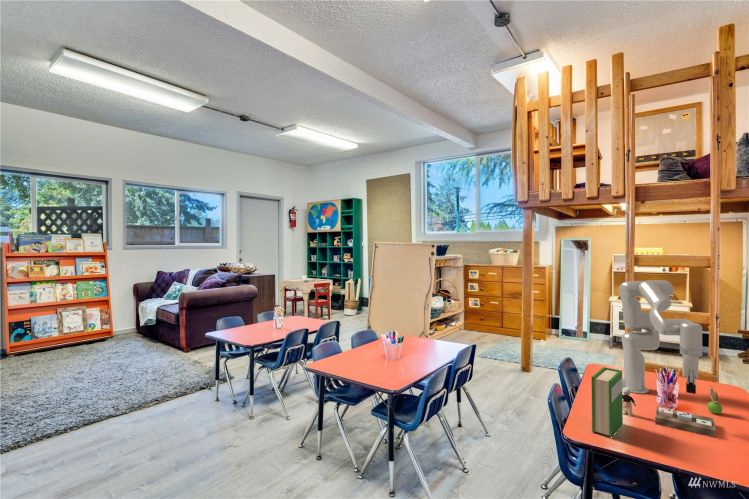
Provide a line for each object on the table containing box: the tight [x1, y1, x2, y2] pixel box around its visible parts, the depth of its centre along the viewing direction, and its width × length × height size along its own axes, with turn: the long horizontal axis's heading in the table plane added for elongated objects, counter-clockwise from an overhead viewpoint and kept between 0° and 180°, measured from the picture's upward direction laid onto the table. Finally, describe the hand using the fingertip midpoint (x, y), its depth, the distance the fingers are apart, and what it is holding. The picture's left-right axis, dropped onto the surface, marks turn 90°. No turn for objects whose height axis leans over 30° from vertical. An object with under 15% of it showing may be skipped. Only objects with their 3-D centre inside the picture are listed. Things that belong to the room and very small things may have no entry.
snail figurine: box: [706, 385, 723, 415], centre depth 178 cm, size 5×6×12 cm
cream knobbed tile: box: [696, 419, 712, 426], centre depth 163 cm, size 5×5×3 cm
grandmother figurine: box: [622, 387, 637, 417], centre depth 178 cm, size 8×4×13 cm, turn 47°
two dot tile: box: [658, 406, 674, 418], centre depth 171 cm, size 5×5×3 cm
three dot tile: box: [676, 410, 693, 422], centre depth 167 cm, size 5×5×3 cm
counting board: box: [654, 406, 717, 438], centre depth 167 cm, size 20×14×3 cm
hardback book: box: [591, 366, 624, 438], centre depth 164 cm, size 18×7×24 cm, turn 135°
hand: (690, 392), depth 165 cm, fingers closed
